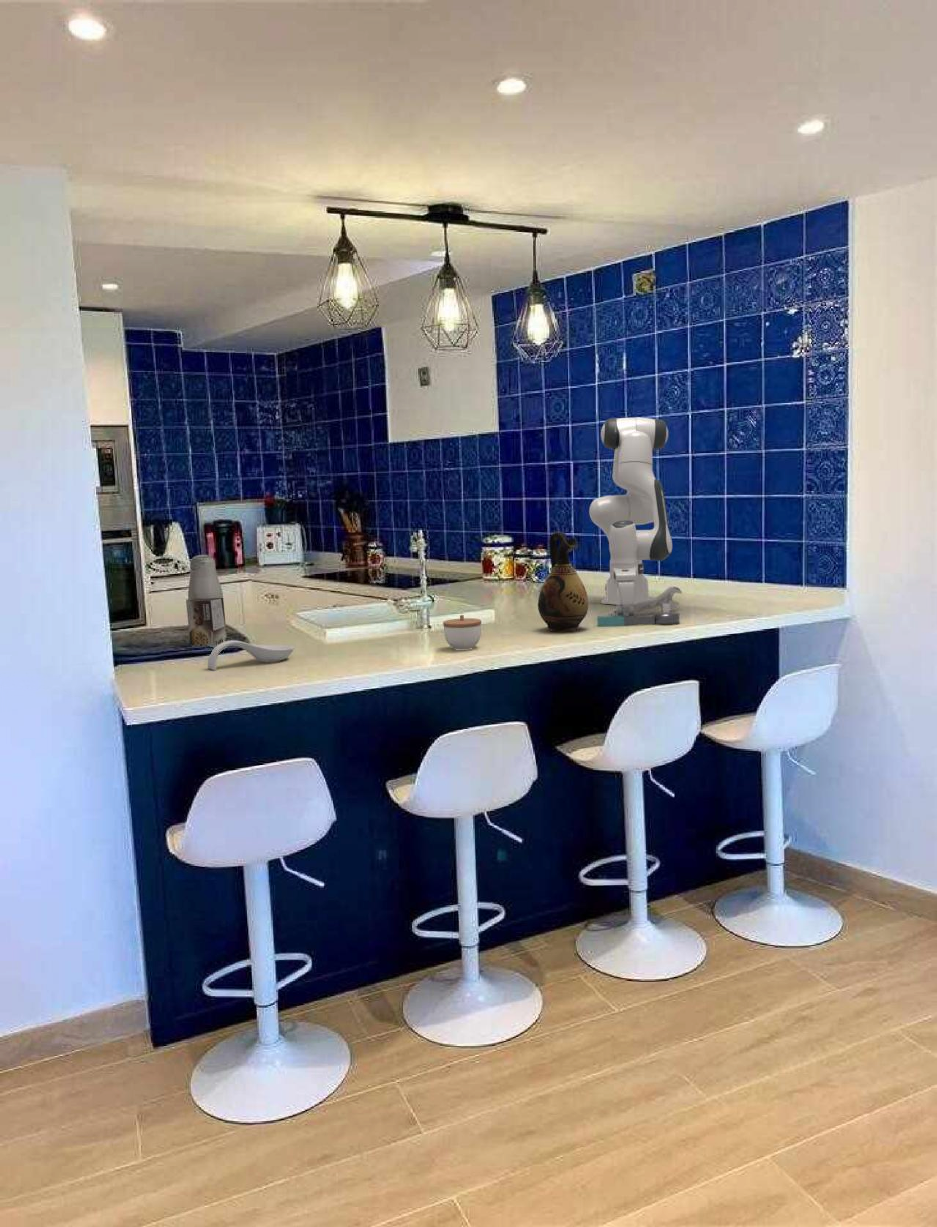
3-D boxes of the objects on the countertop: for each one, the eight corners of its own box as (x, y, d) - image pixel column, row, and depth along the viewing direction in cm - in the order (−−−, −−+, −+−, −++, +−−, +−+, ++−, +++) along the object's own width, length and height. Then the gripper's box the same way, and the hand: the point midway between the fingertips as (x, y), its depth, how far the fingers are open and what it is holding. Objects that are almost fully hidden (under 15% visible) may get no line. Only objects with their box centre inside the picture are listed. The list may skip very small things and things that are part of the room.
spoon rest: (283, 655, 274) (281, 630, 273) (301, 660, 264) (299, 635, 263) (202, 668, 261) (200, 641, 260) (218, 673, 251) (216, 646, 250)
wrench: (609, 627, 313) (680, 607, 326) (613, 628, 311) (683, 608, 325) (606, 603, 311) (677, 584, 325) (609, 604, 310) (681, 585, 323)
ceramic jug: (599, 629, 291) (596, 530, 287) (556, 635, 284) (553, 534, 280) (567, 623, 306) (564, 529, 302) (526, 629, 299) (522, 532, 295)
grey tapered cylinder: (201, 641, 307) (193, 553, 303) (231, 640, 305) (224, 552, 302) (187, 646, 298) (179, 556, 294) (218, 646, 296) (210, 555, 292)
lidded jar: (485, 644, 274) (483, 612, 273) (478, 651, 264) (477, 617, 263) (448, 645, 276) (447, 613, 275) (440, 651, 266) (439, 618, 265)
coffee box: (229, 651, 285) (224, 597, 283) (215, 655, 279) (210, 600, 277) (203, 650, 288) (199, 597, 286) (190, 654, 282) (185, 600, 280)
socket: (616, 620, 309) (616, 604, 308) (632, 619, 308) (632, 604, 308) (617, 622, 304) (617, 606, 303) (633, 621, 303) (633, 606, 303)
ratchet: (597, 623, 303) (596, 604, 302) (677, 620, 301) (677, 601, 300) (598, 627, 295) (597, 608, 294) (681, 624, 293) (680, 605, 292)
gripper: (612, 569, 315) (613, 611, 316) (616, 576, 294) (617, 620, 296) (631, 569, 314) (632, 610, 316) (636, 575, 294) (637, 619, 296)
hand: (625, 615), depth 306 cm, fingers open, 5 cm apart
